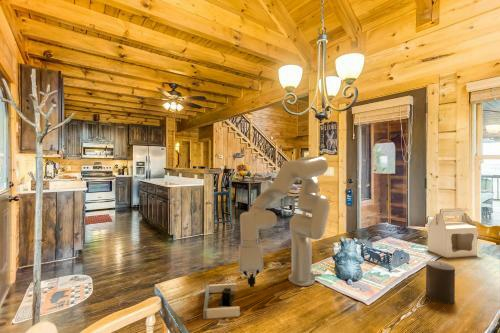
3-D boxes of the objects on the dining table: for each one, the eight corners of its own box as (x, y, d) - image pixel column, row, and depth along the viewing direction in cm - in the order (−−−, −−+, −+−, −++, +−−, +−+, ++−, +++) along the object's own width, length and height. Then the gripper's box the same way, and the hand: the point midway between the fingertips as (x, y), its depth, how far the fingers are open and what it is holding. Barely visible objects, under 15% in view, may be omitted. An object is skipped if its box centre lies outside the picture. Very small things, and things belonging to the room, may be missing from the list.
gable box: (446, 257, 148) (446, 211, 148) (427, 250, 161) (427, 207, 161) (477, 255, 152) (477, 210, 151) (456, 248, 165) (456, 206, 164)
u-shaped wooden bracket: (236, 289, 111) (236, 283, 111) (239, 316, 92) (239, 308, 92) (206, 291, 110) (206, 284, 110) (203, 318, 90) (203, 310, 90)
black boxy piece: (232, 311, 96) (232, 299, 96) (214, 309, 97) (214, 298, 97) (237, 293, 109) (237, 283, 109) (221, 293, 109) (220, 282, 109)
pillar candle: (447, 306, 98) (447, 268, 98) (420, 294, 107) (421, 259, 107) (459, 300, 102) (460, 264, 102) (433, 289, 111) (433, 256, 111)
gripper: (265, 238, 108) (267, 279, 108) (231, 240, 106) (233, 283, 106) (269, 243, 100) (271, 288, 101) (232, 247, 98) (234, 292, 99)
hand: (251, 285), depth 104 cm, fingers closed
